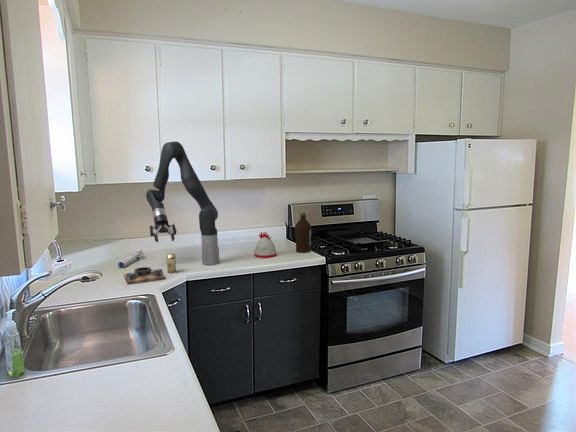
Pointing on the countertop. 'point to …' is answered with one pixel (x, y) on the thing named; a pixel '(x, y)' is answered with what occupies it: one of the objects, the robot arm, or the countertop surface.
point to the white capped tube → (131, 258)
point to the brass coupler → (171, 263)
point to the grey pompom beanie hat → (265, 247)
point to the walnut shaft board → (144, 279)
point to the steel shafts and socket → (143, 273)
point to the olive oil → (303, 235)
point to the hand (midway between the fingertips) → (165, 240)
